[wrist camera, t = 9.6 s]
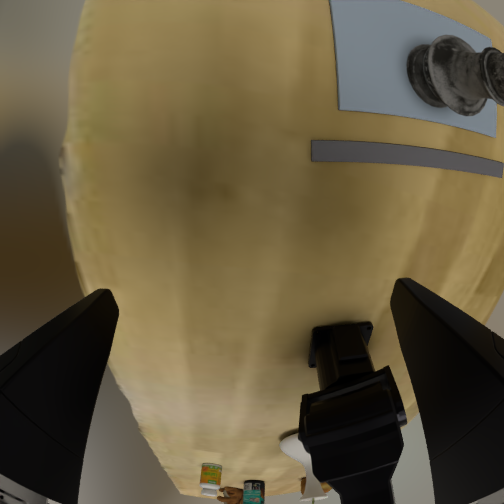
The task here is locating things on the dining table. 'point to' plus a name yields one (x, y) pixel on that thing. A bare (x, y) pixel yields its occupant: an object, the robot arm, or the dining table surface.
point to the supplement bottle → (210, 479)
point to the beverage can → (254, 492)
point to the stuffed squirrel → (231, 495)
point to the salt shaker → (456, 75)
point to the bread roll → (323, 485)
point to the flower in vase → (297, 452)
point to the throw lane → (397, 82)
